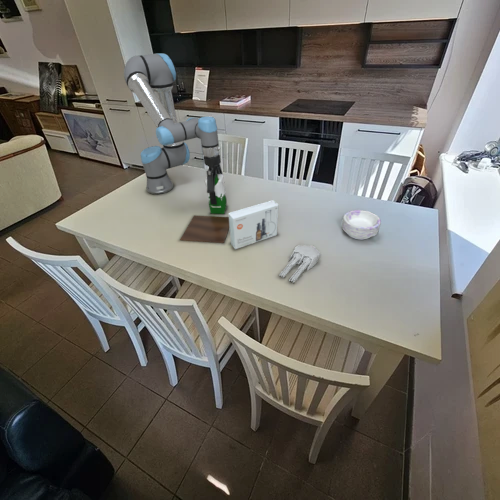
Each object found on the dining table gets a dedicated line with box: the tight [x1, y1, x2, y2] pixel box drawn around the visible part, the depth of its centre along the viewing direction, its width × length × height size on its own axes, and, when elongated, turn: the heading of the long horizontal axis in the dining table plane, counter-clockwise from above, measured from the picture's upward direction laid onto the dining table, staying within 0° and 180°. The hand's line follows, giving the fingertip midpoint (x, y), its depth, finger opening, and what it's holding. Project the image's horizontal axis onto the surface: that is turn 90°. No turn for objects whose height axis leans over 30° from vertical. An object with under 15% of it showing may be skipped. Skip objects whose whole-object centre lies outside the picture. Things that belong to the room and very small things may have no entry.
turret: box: [278, 244, 322, 284], centre depth 107 cm, size 10×20×5 cm, turn 141°
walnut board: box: [179, 215, 230, 244], centre depth 130 cm, size 20×20×1 cm
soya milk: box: [204, 173, 227, 215], centre depth 137 cm, size 9×9×20 cm
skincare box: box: [227, 199, 280, 250], centre depth 118 cm, size 21×5×16 cm, turn 117°
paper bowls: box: [341, 209, 382, 240], centre depth 120 cm, size 15×15×8 cm
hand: (217, 197), depth 138 cm, fingers open, 13 cm apart
